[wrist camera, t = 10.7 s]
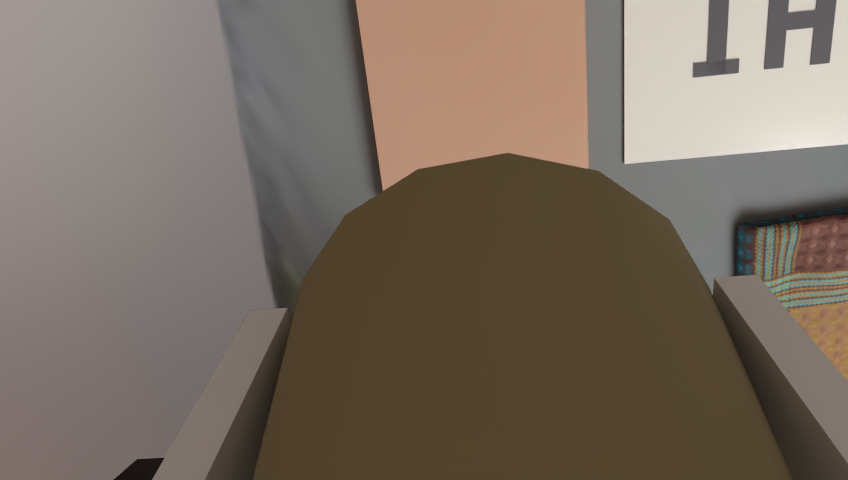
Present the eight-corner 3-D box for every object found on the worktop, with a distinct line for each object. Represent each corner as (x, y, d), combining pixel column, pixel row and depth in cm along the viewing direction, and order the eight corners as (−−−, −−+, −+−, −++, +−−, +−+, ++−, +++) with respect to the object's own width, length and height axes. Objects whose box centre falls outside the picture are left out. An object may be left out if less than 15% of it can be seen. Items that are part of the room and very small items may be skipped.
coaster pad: (586, 184, 38) (588, 189, 37) (386, 201, 39) (385, 206, 38) (581, -32, 34) (584, -31, 33) (357, -6, 35) (354, -5, 34)
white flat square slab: (880, 140, 36) (882, 141, 36) (624, 163, 38) (624, 164, 37) (921, -143, 31) (924, -144, 31) (624, -106, 32) (624, -106, 32)
